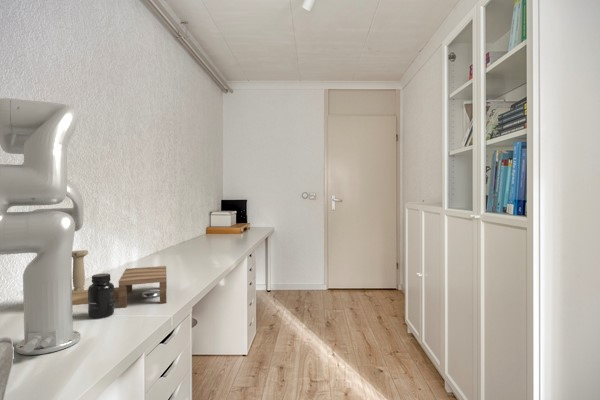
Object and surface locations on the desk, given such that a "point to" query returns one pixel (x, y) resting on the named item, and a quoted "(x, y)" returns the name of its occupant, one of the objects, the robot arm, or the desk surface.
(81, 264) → the beige pillar figurine
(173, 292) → the desk surface
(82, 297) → the oak stick
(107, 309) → the supplement bottle
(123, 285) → the desk riser
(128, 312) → the desk surface
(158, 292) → the steel disc
